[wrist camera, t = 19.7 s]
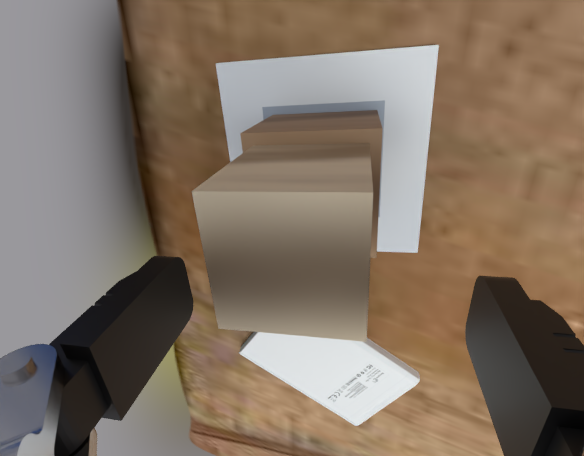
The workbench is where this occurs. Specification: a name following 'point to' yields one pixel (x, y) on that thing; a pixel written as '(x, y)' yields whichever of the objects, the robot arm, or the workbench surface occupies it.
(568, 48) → the workbench surface
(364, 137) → the walnut block
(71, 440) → the robot arm
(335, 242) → the maple block
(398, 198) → the white square plate
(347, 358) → the external hard drive
